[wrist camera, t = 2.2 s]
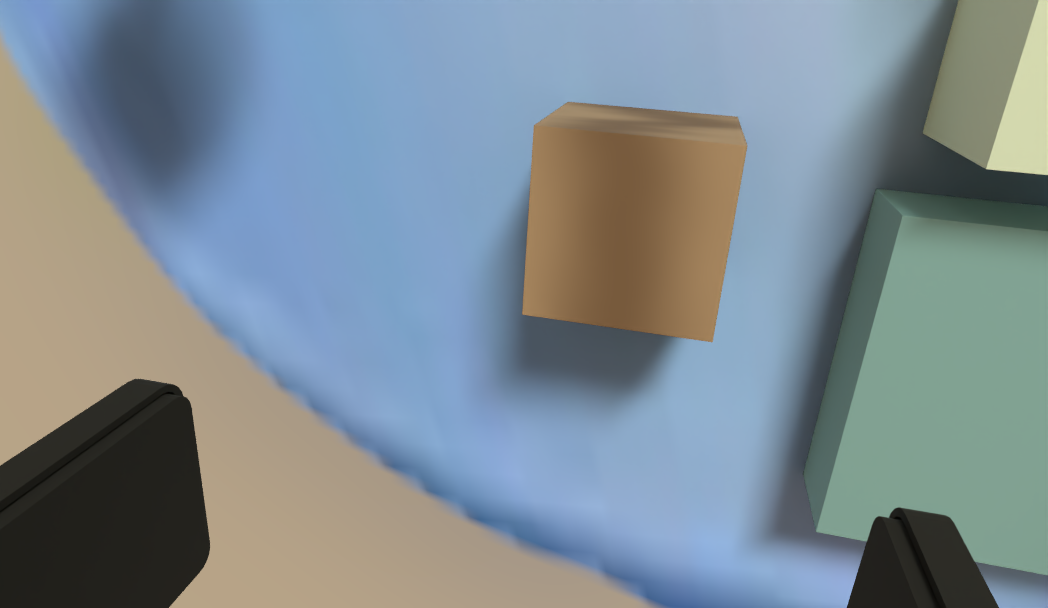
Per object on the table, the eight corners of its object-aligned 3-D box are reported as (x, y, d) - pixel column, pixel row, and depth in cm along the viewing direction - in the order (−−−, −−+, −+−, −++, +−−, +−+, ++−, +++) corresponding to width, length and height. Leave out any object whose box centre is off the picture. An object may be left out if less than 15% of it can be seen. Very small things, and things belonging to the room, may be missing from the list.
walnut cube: (737, 116, 25) (747, 145, 20) (710, 276, 27) (712, 342, 22) (568, 101, 26) (533, 125, 21) (556, 256, 29) (522, 314, 23)
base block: (1269, 226, 23) (1376, 267, 19) (1125, 525, 28) (1189, 602, 24) (873, 186, 25) (902, 215, 22) (801, 468, 30) (816, 532, 26)
